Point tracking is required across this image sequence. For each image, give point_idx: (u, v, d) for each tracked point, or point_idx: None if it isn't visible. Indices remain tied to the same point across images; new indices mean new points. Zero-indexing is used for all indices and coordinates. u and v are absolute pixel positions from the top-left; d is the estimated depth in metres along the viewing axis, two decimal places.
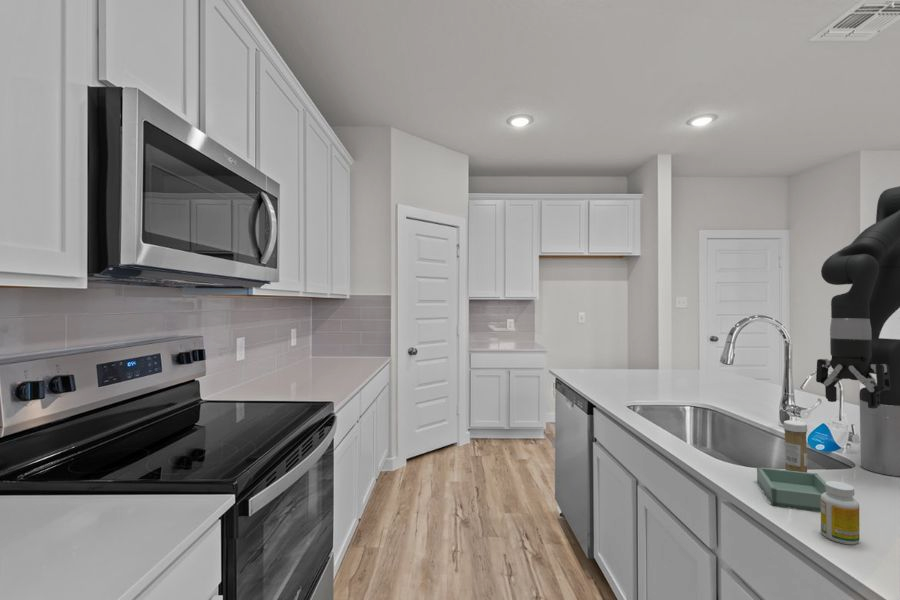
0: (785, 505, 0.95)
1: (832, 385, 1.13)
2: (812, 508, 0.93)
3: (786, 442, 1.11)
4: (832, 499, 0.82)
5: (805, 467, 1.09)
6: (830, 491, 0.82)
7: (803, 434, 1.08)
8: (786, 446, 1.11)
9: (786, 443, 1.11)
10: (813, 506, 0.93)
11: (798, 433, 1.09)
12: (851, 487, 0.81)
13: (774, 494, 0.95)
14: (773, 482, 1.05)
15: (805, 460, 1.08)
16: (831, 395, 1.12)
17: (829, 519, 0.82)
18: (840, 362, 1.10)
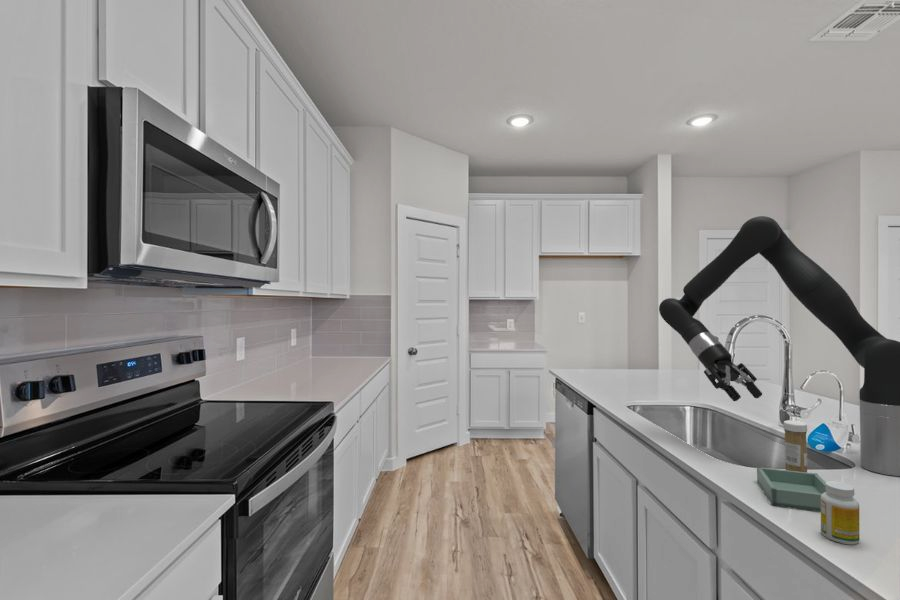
0: (785, 505, 0.95)
1: (748, 384, 1.25)
2: (812, 508, 0.93)
3: (786, 442, 1.11)
4: (832, 499, 0.82)
5: (805, 467, 1.09)
6: (830, 491, 0.82)
7: (803, 434, 1.08)
8: (786, 446, 1.11)
9: (786, 443, 1.11)
10: (813, 506, 0.93)
11: (798, 433, 1.09)
12: (851, 487, 0.81)
13: (774, 494, 0.95)
14: (773, 482, 1.05)
15: (805, 460, 1.08)
16: (752, 393, 1.24)
17: (829, 519, 0.82)
18: None
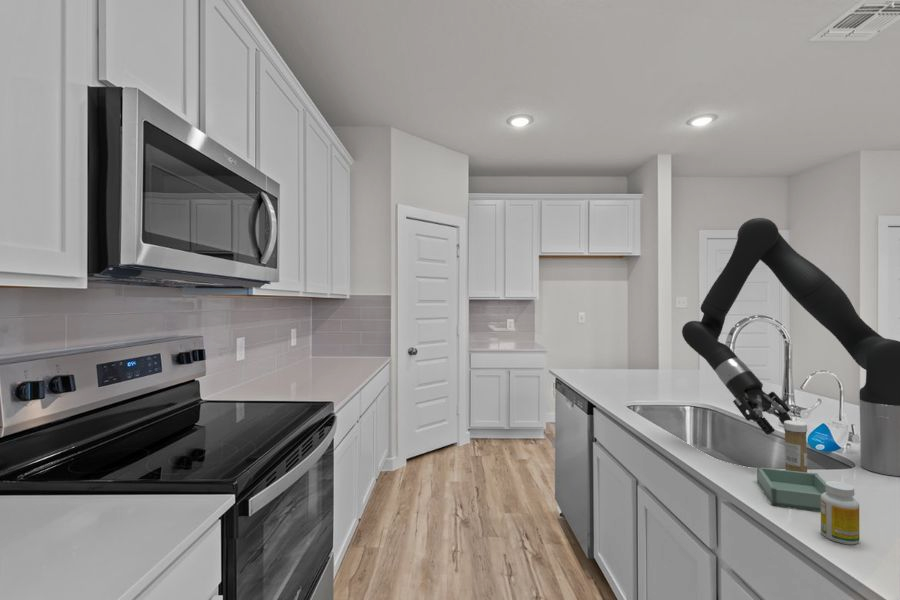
0: (785, 505, 0.95)
1: (781, 415, 1.17)
2: (812, 508, 0.93)
3: (786, 442, 1.11)
4: (832, 499, 0.82)
5: (805, 467, 1.09)
6: (830, 491, 0.82)
7: (803, 434, 1.08)
8: (786, 446, 1.11)
9: (786, 443, 1.11)
10: (813, 506, 0.93)
11: (798, 433, 1.09)
12: (851, 487, 0.81)
13: (774, 494, 0.95)
14: (773, 482, 1.05)
15: (805, 460, 1.08)
16: None
17: (829, 519, 0.82)
18: None
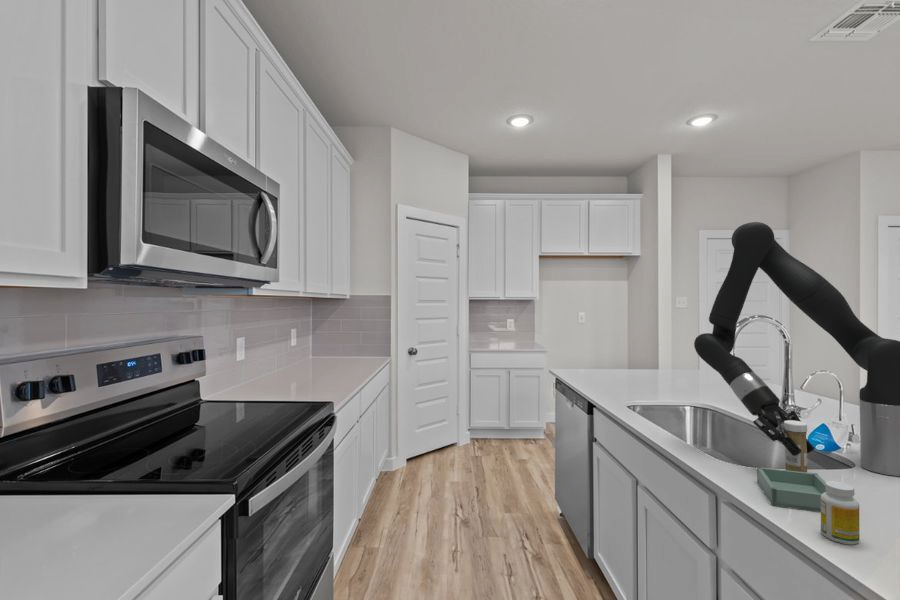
0: (785, 505, 0.95)
1: None
2: (812, 508, 0.93)
3: None
4: (832, 499, 0.82)
5: (805, 467, 1.09)
6: (830, 491, 0.82)
7: (803, 434, 1.08)
8: None
9: None
10: (813, 506, 0.93)
11: (798, 433, 1.08)
12: (851, 487, 0.81)
13: (774, 494, 0.95)
14: (773, 482, 1.05)
15: (805, 460, 1.08)
16: None
17: (829, 519, 0.82)
18: None
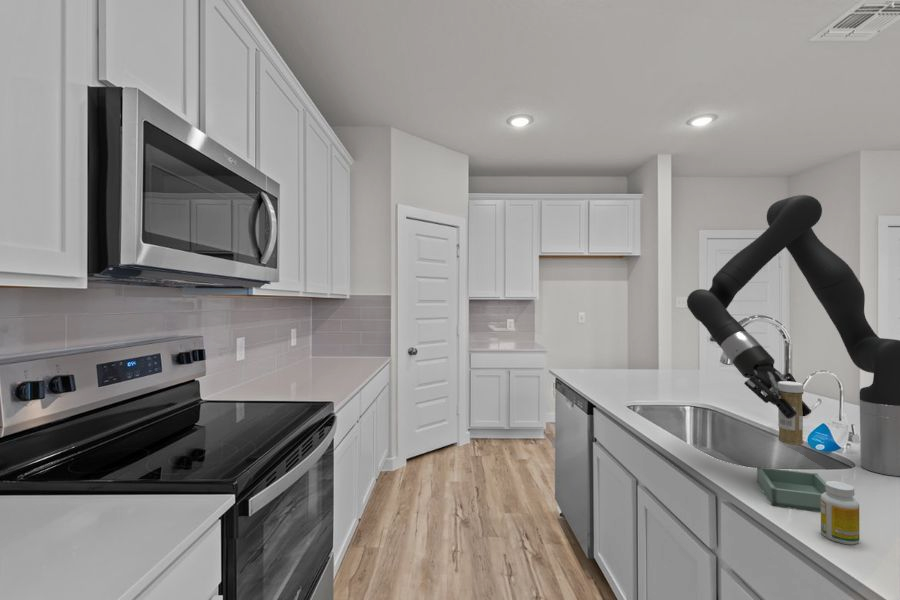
0: (785, 505, 0.95)
1: None
2: (812, 508, 0.93)
3: None
4: (832, 499, 0.82)
5: (800, 431, 0.99)
6: (830, 491, 0.82)
7: (798, 395, 0.99)
8: None
9: None
10: (813, 506, 0.93)
11: (793, 394, 0.99)
12: (851, 487, 0.81)
13: (774, 494, 0.95)
14: (773, 482, 1.05)
15: (800, 423, 0.99)
16: None
17: (829, 519, 0.82)
18: None
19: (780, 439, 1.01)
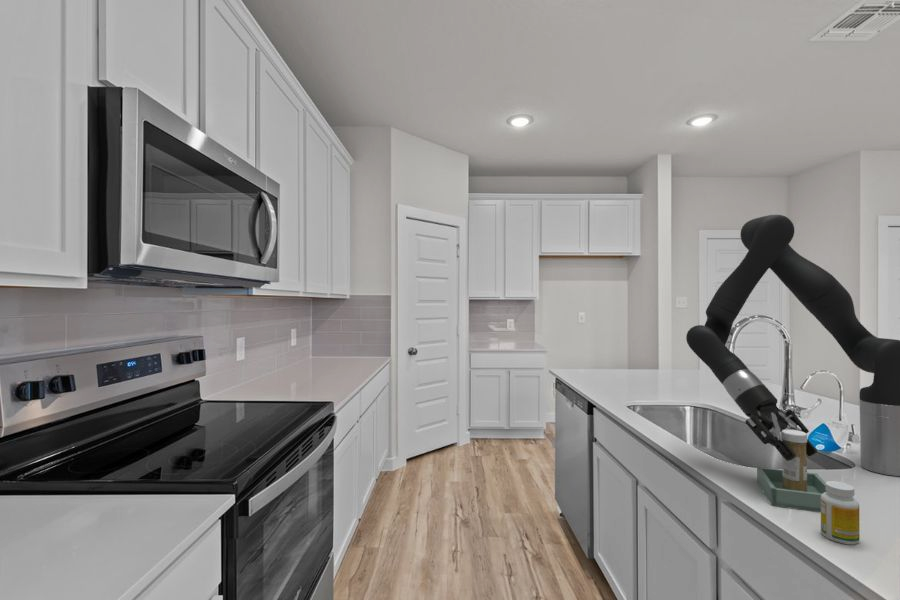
0: (785, 505, 0.95)
1: None
2: (812, 508, 0.93)
3: None
4: (832, 499, 0.82)
5: (804, 482, 0.98)
6: (830, 491, 0.82)
7: (803, 445, 0.98)
8: (784, 458, 1.00)
9: None
10: (813, 506, 0.93)
11: (797, 444, 0.98)
12: (851, 487, 0.81)
13: (774, 494, 0.95)
14: (773, 482, 1.05)
15: (805, 474, 0.98)
16: None
17: (829, 519, 0.82)
18: None
19: None
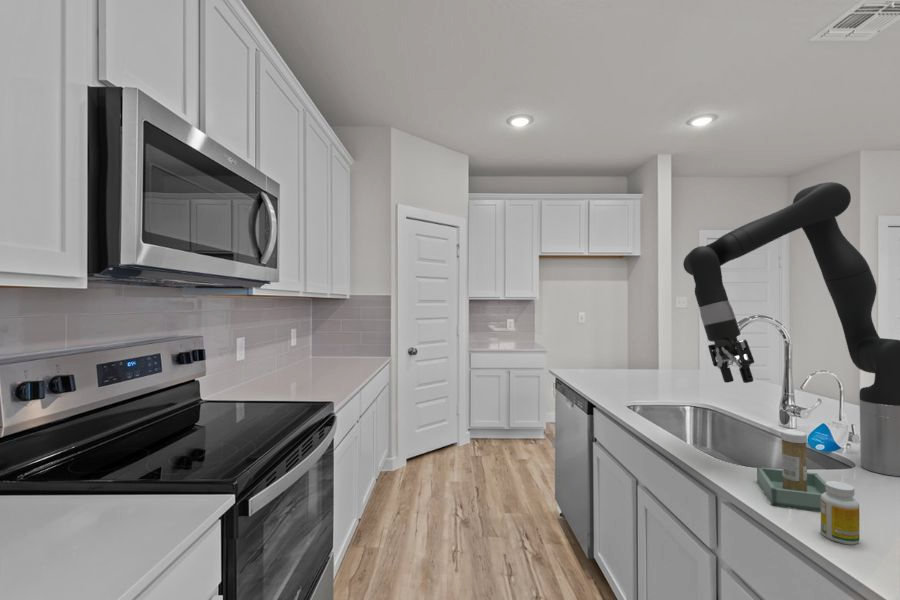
0: (785, 505, 0.95)
1: (724, 367, 1.21)
2: (812, 508, 0.93)
3: (783, 454, 1.00)
4: (832, 499, 0.82)
5: (804, 482, 0.98)
6: (830, 491, 0.82)
7: (802, 445, 0.98)
8: (783, 458, 1.00)
9: (783, 455, 1.00)
10: (813, 506, 0.93)
11: (797, 444, 0.98)
12: (851, 487, 0.81)
13: (774, 494, 0.95)
14: (773, 482, 1.05)
15: (804, 474, 0.98)
16: (724, 376, 1.20)
17: (829, 519, 0.82)
18: (718, 345, 1.19)
19: None
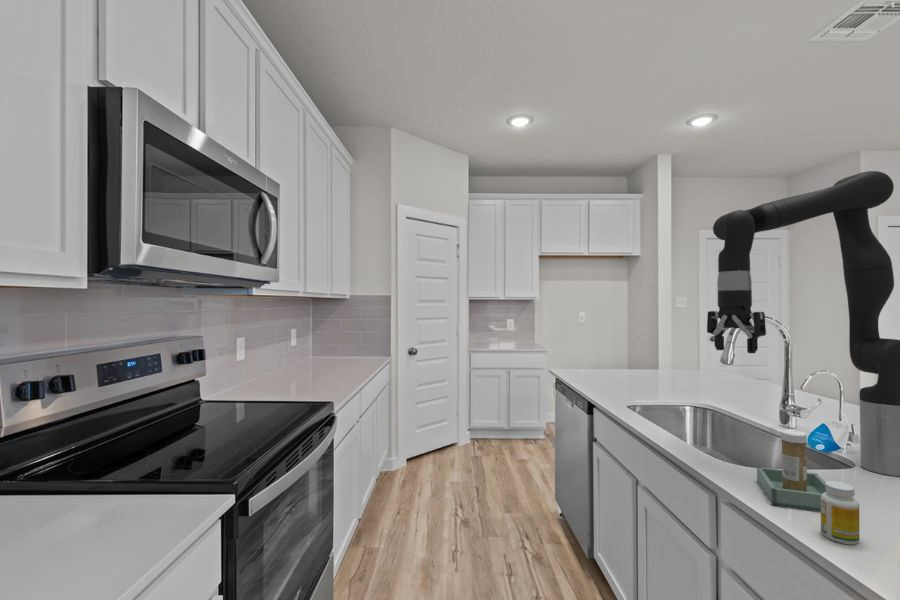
0: (785, 505, 0.95)
1: (720, 335, 1.21)
2: (812, 508, 0.93)
3: (783, 454, 1.00)
4: (832, 499, 0.82)
5: (804, 482, 0.98)
6: (830, 491, 0.82)
7: (802, 445, 0.98)
8: (783, 458, 1.00)
9: (783, 455, 1.00)
10: (813, 506, 0.93)
11: (797, 444, 0.98)
12: (851, 487, 0.81)
13: (774, 494, 0.95)
14: (773, 482, 1.05)
15: (804, 474, 0.98)
16: (719, 344, 1.21)
17: (829, 519, 0.82)
18: (726, 312, 1.18)
19: None
